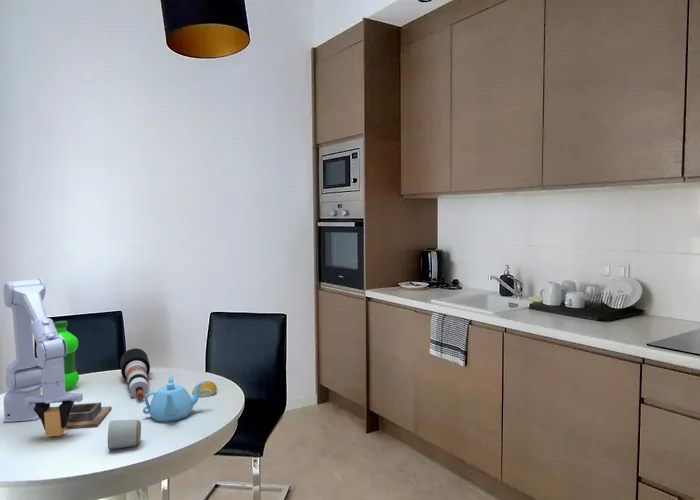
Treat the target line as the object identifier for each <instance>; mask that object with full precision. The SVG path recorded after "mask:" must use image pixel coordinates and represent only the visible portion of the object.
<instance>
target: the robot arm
mask: <svg viewBox="0 0 700 500" xmlns="http://www.w3.org/2000/svg"><path fill="white" fill-rule="evenodd" d="M45 295H46V283H45V282H44V280H43V279H42V278H39V277H38V278H34V279H23V280H13V281H11V280H7V281H6V282H5V283H4V286H3V297H4V298H3V299H4V300H3V301H4V306H5V307H6V308H9V309H10V308H11V313H12V320H13V332H14V343H15V344H14V346H15V357H16V358H15V360H14V361H12V362H11V363H10V364H8V366H6V373H5V384H6V387H7V391H6V392H5V394H4V396H3V413H4V419H3V423H13V422H24V421H25V422H26V421H37V420H38V419H39V420H40V422H41V424H42V427H43V430H44V431H45V420H44V412H45V411H46V410H47V409H49V408H50V407H51V404H58V403H59V404H60V403H61V404H60V405H58V407H59V410H60V414H61V427H62V428H65V427H66V426H67V421H68V417H69V413H70V410H71V408H72V406H73V404H75V403H81V402H82V401H83V400H84V399H83V397H84V396H83V393H82V392H78V393H77V392H66V391H65V375H64V358H63V357H65V356H66V354H67V345H66V342H65V339H64V338H63V337H62V336H61V335H58V333H57V330H56V328H55V325H54V320H53V319H51V318H49V317H47V314H46V310H45V307H44V303H43V300H44V299H45ZM34 340H35V343H36V348H35V350H34ZM34 351H35V352H36V357H35V352H34Z"/></svg>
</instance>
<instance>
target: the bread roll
mask: <svg viewBox="0 0 700 500" xmlns="http://www.w3.org/2000/svg"><path fill="white" fill-rule="evenodd" d="M204 381H205V382H204V383H203V384H202V385H201V387H200V390H199V398H206V397H207V396H208V397H211V396H213V395H215V394H216V393H217V388H218V387H217V385H216V384H215V383H214V382H213V381H210V380H204ZM195 387H196V385H195V386H193V389H192V396H193V395H194V393H195Z"/></svg>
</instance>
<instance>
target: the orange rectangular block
mask: <svg viewBox="0 0 700 500" xmlns="http://www.w3.org/2000/svg"><path fill="white" fill-rule="evenodd" d="M44 420H45V430H44V435H45V437H46V438H47V437H58V436H61V435H63V434H64V432H66V431H67V429H66V427H65V428H62V427H61V414H60V410H59V406H50V408H49V409H47V410H46V411H45V412H44Z"/></svg>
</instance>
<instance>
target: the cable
mask: <svg viewBox="0 0 700 500" xmlns="http://www.w3.org/2000/svg"><path fill="white" fill-rule="evenodd" d="M119 363H120V365H119V366H120V373H121V376H122V378H123V379H124V380H125V381H126V384H127V386H128V389H129V393H130V395H131V396H132V398H133V397H134V398H135V399H138V400H141V399H143V398H144V397H145V395H146V394H147V393H149V380H148V379H149V375H150V372H151V363H150V361H149V357H148V354H147V353H146V352H145V351H144V350H143V349H140V348H135V347H134V348H131V349H128V350H126V351H124V352H123V354H121V357H120V361H119Z"/></svg>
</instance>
